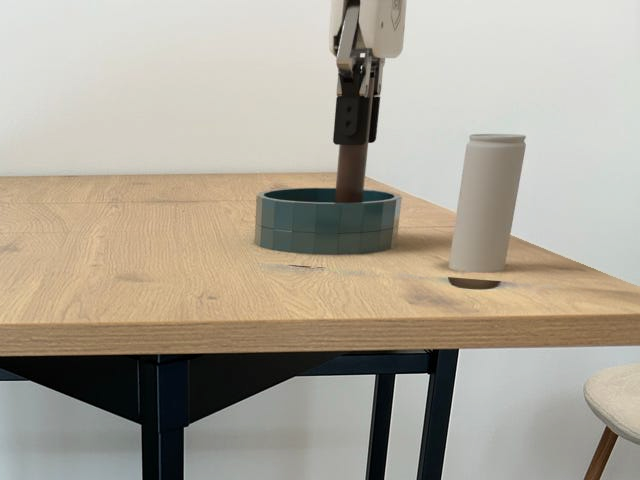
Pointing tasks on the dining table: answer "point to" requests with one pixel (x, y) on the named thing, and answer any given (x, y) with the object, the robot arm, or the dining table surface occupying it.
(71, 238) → the dining table surface
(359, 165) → the stick
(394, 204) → the bowl
